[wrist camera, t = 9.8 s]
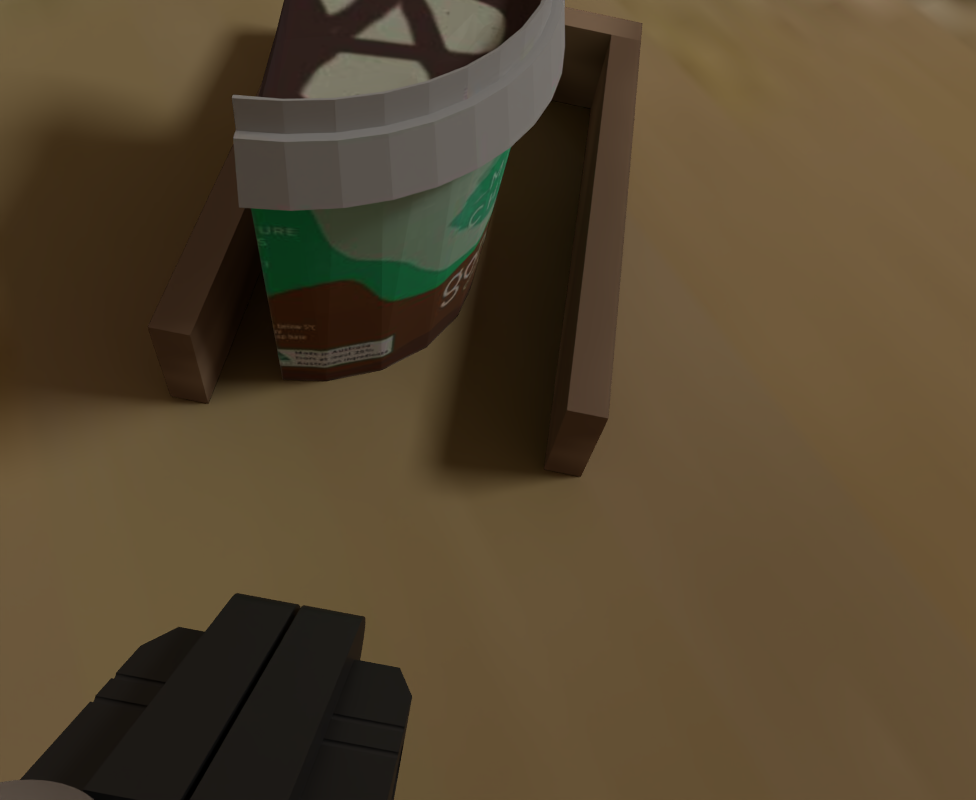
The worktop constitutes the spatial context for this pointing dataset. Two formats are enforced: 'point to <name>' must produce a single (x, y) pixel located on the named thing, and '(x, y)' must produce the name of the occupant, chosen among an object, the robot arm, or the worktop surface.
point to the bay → (593, 270)
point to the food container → (384, 165)
